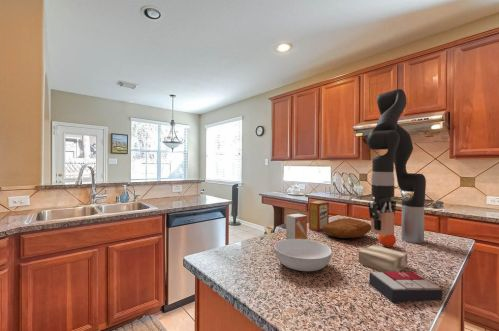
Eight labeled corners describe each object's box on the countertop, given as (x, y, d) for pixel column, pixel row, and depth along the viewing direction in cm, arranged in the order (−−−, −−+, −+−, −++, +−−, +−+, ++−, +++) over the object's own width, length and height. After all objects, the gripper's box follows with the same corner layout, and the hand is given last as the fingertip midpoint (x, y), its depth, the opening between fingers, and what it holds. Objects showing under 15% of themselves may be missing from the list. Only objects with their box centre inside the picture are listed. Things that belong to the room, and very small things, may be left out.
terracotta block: (379, 230, 94) (379, 209, 94) (394, 233, 89) (394, 212, 89) (371, 231, 91) (371, 210, 91) (385, 235, 86) (385, 213, 86)
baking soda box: (318, 231, 134) (318, 203, 134) (309, 229, 139) (309, 201, 139) (328, 228, 140) (328, 201, 140) (319, 226, 145) (319, 200, 145)
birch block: (374, 256, 98) (374, 244, 98) (407, 267, 89) (407, 253, 89) (358, 264, 91) (358, 251, 91) (392, 275, 81) (392, 261, 81)
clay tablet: (346, 229, 138) (346, 215, 138) (375, 237, 123) (375, 222, 123) (319, 235, 126) (319, 220, 126) (347, 245, 112) (348, 227, 112)
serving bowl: (298, 284, 75) (298, 262, 75) (263, 260, 93) (263, 243, 93) (344, 271, 84) (345, 251, 84) (305, 251, 103) (305, 235, 103)
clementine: (391, 250, 104) (391, 234, 104) (375, 246, 110) (375, 231, 110) (398, 246, 110) (398, 231, 110) (381, 242, 115) (381, 228, 115)
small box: (295, 245, 111) (295, 217, 111) (285, 241, 116) (285, 214, 116) (307, 242, 115) (307, 215, 115) (297, 238, 121) (297, 213, 121)
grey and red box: (443, 288, 66) (393, 288, 65) (442, 303, 66) (392, 303, 65) (412, 270, 77) (369, 270, 76) (412, 283, 77) (368, 283, 76)
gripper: (384, 182, 97) (384, 224, 97) (361, 183, 90) (361, 229, 90) (403, 184, 90) (403, 228, 90) (380, 185, 83) (380, 234, 83)
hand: (382, 228), depth 90 cm, fingers closed on terracotta block, 5 cm apart
